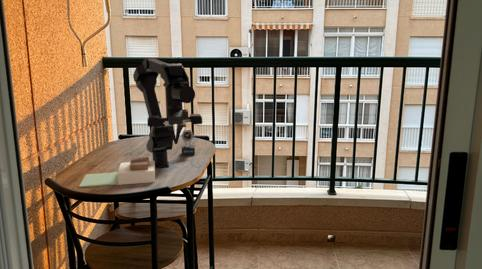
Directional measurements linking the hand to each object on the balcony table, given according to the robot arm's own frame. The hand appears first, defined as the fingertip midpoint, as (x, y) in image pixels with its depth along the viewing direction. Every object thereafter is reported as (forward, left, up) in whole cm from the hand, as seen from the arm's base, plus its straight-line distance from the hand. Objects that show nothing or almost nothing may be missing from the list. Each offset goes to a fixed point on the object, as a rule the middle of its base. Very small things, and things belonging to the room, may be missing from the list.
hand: (176, 143), depth 143 cm
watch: (-28, +6, -12) cm, 31 cm away
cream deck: (0, -14, -12) cm, 18 cm away
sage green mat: (0, -26, -12) cm, 29 cm away
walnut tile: (0, -13, -8) cm, 15 cm away
